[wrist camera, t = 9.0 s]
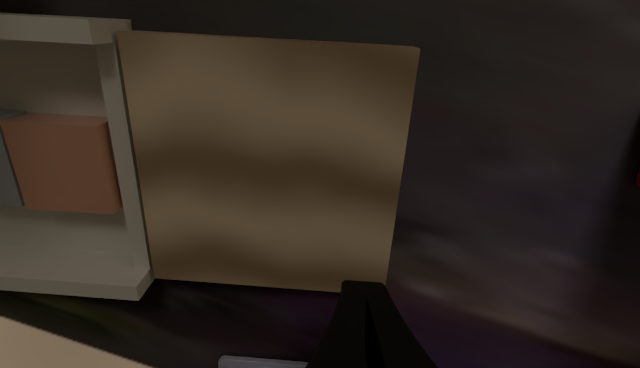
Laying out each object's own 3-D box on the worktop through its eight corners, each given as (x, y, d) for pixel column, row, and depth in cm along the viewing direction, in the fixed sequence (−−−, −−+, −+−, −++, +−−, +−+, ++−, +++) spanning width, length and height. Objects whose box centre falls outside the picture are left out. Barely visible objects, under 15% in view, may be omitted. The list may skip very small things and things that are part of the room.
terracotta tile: (132, 198, 23) (113, 214, 21) (51, 194, 23) (26, 209, 21) (117, 117, 21) (95, 126, 19) (29, 112, 21) (-1, 121, 19)
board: (380, 275, 24) (383, 295, 23) (168, 259, 25) (154, 278, 23) (412, 45, 19) (420, 48, 17) (138, 30, 19) (116, 31, 17)
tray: (164, 265, 25) (138, 300, 22) (-25, 250, 25) (-78, 283, 22) (130, 19, 19) (87, 19, 16) (-116, 5, 20) (-207, 2, 16)
